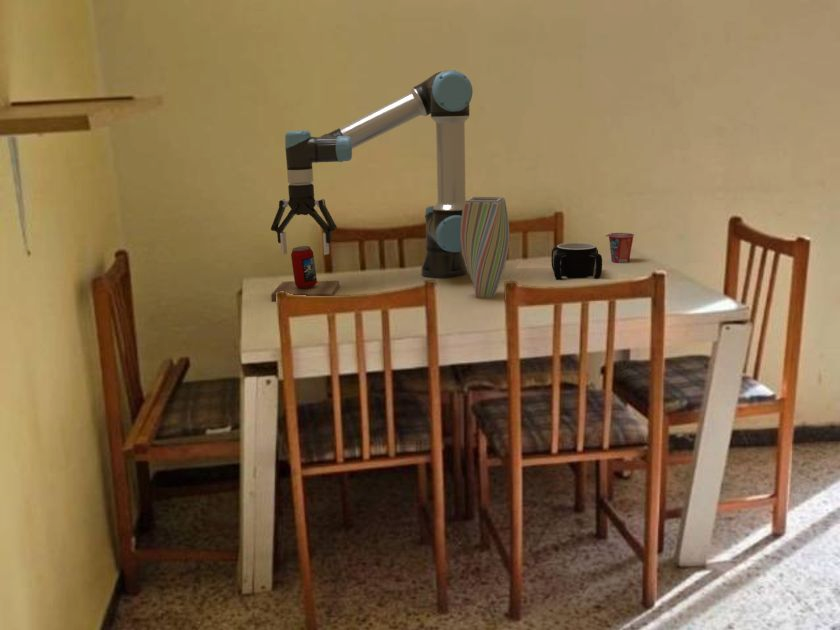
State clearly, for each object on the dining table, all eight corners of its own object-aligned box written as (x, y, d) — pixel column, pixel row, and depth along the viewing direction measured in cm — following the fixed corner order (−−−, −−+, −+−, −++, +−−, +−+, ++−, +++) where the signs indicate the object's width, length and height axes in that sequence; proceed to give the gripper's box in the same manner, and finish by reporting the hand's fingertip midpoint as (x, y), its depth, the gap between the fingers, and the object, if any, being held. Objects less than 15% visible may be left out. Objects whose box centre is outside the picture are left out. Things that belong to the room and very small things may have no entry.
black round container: (551, 277, 290) (552, 241, 287) (602, 278, 287) (603, 241, 284) (548, 288, 275) (548, 249, 272) (601, 289, 271) (602, 250, 269)
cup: (616, 266, 306) (617, 231, 303) (638, 269, 300) (639, 234, 297) (600, 270, 300) (601, 235, 297) (621, 273, 294) (622, 237, 291)
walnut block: (339, 290, 283) (339, 280, 282) (332, 303, 265) (331, 293, 265) (283, 290, 283) (282, 281, 283) (271, 303, 266) (271, 294, 265)
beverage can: (314, 288, 270) (309, 249, 267) (292, 289, 271) (287, 250, 268) (319, 282, 277) (314, 244, 274) (299, 284, 278) (293, 246, 275)
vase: (511, 298, 263) (511, 195, 256) (505, 308, 250) (505, 201, 243) (466, 296, 266) (465, 195, 259) (458, 307, 253) (456, 201, 246)
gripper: (344, 181, 267) (348, 251, 272) (266, 182, 272) (271, 251, 278) (336, 184, 260) (340, 256, 265) (256, 185, 265) (262, 255, 271)
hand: (305, 253), depth 271 cm, fingers open, 13 cm apart
